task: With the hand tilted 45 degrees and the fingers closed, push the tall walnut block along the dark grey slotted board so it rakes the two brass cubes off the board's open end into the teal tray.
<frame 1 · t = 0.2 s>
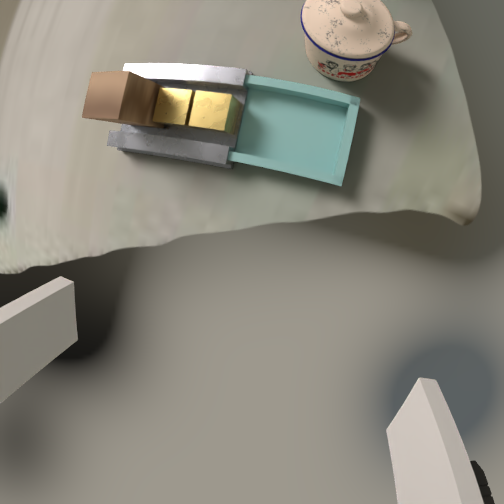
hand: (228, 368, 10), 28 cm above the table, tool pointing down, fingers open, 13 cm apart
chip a: (185, 111, 34), point 1 cm above the table, touching slot board
teacup with lid: (353, 50, 30), on the table
slot board: (181, 111, 35), on the table
tray: (295, 130, 33), on the table
chip b: (220, 115, 34), point 1 cm above the table, touching slot board
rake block: (150, 108, 35), point 1 cm above the table, touching slot board
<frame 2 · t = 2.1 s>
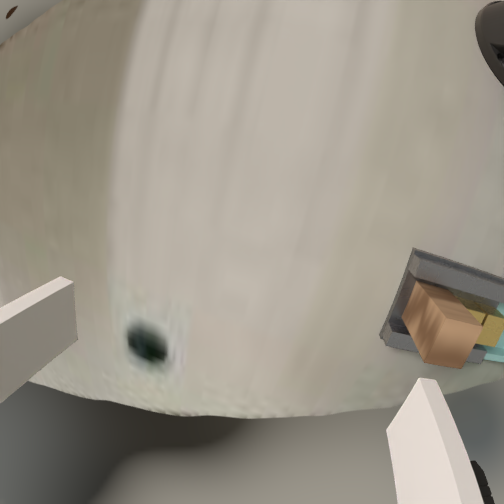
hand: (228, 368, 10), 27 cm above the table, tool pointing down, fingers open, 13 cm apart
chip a: (455, 311, 33), point 1 cm above the table, touching slot board
slot board: (447, 307, 34), on the table
chip b: (479, 317, 32), point 1 cm above the table, touching slot board
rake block: (425, 303, 34), point 1 cm above the table, touching slot board
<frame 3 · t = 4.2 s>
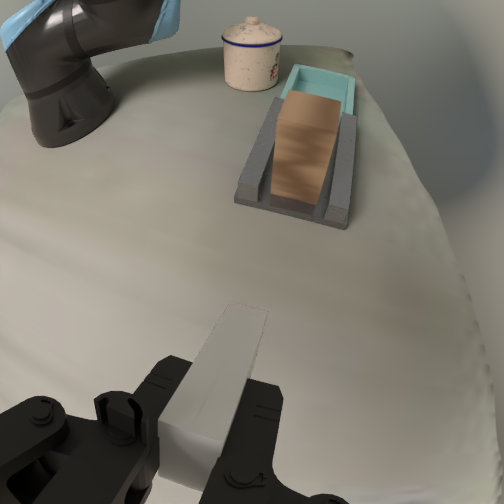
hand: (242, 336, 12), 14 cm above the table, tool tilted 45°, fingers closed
teacup with lid: (250, 76, 46), on the table
slot board: (302, 163, 36), on the table
tray: (317, 102, 43), on the table
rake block: (297, 182, 33), point 1 cm above the table, touching slot board
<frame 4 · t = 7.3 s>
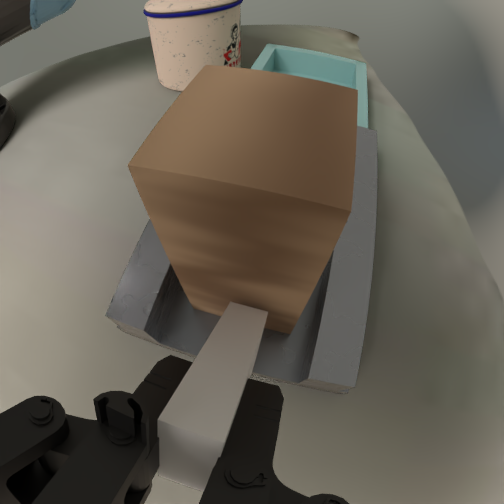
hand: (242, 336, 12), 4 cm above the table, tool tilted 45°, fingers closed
teacup with lid: (200, 68, 29), on the table
slot board: (267, 235, 19), on the table
tray: (305, 104, 25), on the table
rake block: (254, 276, 16), point 1 cm above the table, touching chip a, gripper, slot board
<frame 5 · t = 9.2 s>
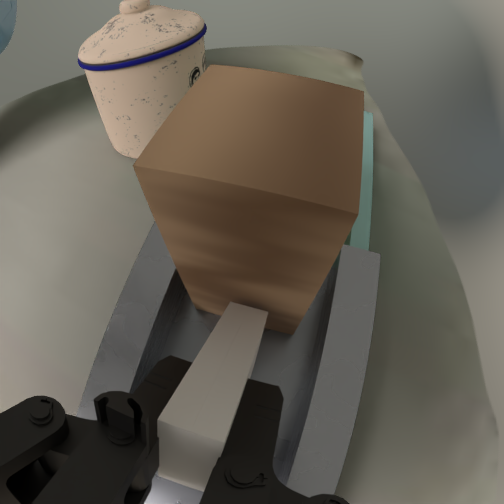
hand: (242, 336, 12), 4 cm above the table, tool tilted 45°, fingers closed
teacup with lid: (162, 117, 24), on the table
slot board: (225, 398, 14), on the table
tray: (288, 180, 21), on the table
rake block: (256, 277, 16), point 1 cm above the table, touching gripper, slot board
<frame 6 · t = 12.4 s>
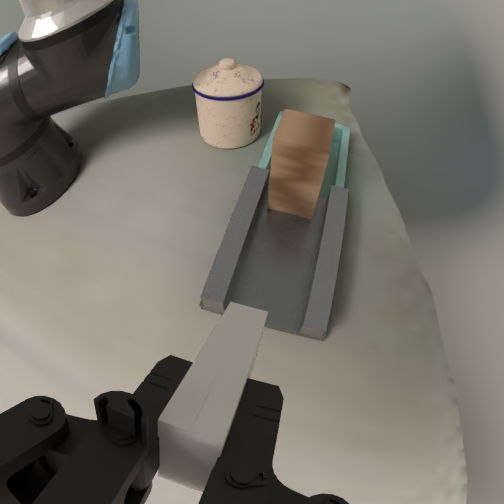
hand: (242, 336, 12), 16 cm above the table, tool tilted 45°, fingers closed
teacup with lid: (229, 126, 43), on the table
slot board: (281, 253, 32), on the table
tray: (305, 162, 39), on the table
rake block: (294, 197, 35), point 1 cm above the table, touching slot board
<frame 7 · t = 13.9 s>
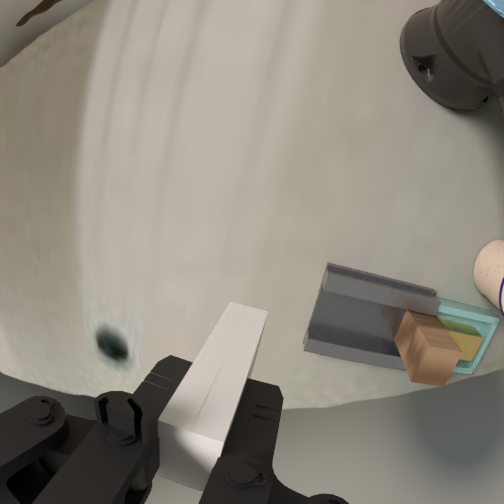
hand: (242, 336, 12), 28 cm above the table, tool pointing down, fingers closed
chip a: (438, 330, 38), resting on tray
teacup with lid: (500, 266, 35), on the table
slot board: (369, 316, 40), on the table
tray: (450, 333, 39), on the table
chip b: (458, 334, 38), resting on tray
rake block: (415, 327, 38), point 1 cm above the table, touching slot board
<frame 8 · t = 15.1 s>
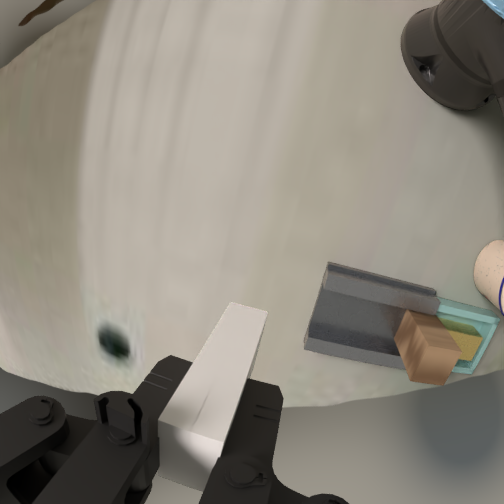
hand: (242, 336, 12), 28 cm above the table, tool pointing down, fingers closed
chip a: (438, 330, 39), resting on tray
teacup with lid: (500, 266, 35), on the table
slot board: (369, 315, 40), on the table
tray: (450, 333, 39), on the table
chip b: (458, 334, 38), resting on tray
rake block: (415, 326, 38), point 1 cm above the table, touching slot board
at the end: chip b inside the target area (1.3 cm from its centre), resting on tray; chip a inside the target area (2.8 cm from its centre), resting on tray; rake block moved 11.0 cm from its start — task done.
